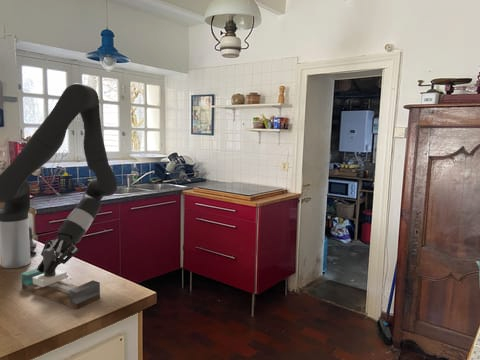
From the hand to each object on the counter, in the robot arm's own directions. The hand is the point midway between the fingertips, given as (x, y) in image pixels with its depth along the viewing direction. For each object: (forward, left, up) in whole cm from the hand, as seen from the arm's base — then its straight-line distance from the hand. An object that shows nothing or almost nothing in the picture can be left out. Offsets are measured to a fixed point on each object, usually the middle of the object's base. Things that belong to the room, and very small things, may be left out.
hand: (43, 272), depth 112 cm
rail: (+5, +2, -6) cm, 8 cm away
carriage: (0, +2, -3) cm, 4 cm away
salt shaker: (-37, +18, -7) cm, 42 cm away
